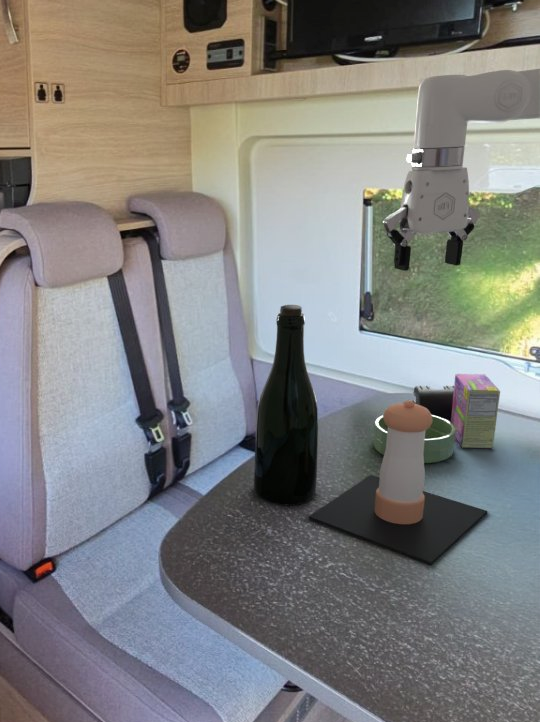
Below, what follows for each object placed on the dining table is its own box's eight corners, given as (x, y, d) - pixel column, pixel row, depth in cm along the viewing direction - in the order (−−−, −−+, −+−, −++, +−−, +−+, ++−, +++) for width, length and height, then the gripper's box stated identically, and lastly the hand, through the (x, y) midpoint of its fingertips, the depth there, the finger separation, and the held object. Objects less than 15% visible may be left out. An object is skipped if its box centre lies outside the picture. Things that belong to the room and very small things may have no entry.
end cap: (417, 425, 150) (420, 394, 147) (409, 412, 156) (412, 383, 154) (468, 425, 148) (472, 394, 146) (458, 412, 155) (461, 383, 152)
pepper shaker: (419, 503, 118) (430, 393, 111) (426, 526, 111) (439, 410, 105) (372, 500, 119) (381, 392, 113) (376, 522, 113) (386, 408, 106)
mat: (487, 513, 115) (487, 510, 115) (431, 565, 102) (431, 562, 102) (370, 477, 129) (371, 474, 128) (308, 518, 116) (308, 516, 116)
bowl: (465, 447, 138) (468, 423, 137) (432, 471, 129) (435, 446, 128) (395, 429, 148) (397, 406, 146) (359, 451, 139) (361, 427, 138)
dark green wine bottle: (315, 481, 128) (325, 298, 117) (315, 509, 119) (326, 314, 107) (256, 477, 131) (259, 298, 119) (251, 504, 121) (255, 313, 110)
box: (448, 427, 148) (455, 373, 144) (478, 428, 146) (486, 373, 142) (460, 448, 138) (467, 390, 134) (492, 449, 137) (501, 390, 133)
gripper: (403, 163, 110) (394, 275, 116) (501, 157, 113) (487, 265, 119) (375, 162, 117) (368, 268, 123) (468, 156, 120) (457, 259, 126)
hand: (427, 266), depth 121 cm, fingers open, 9 cm apart
